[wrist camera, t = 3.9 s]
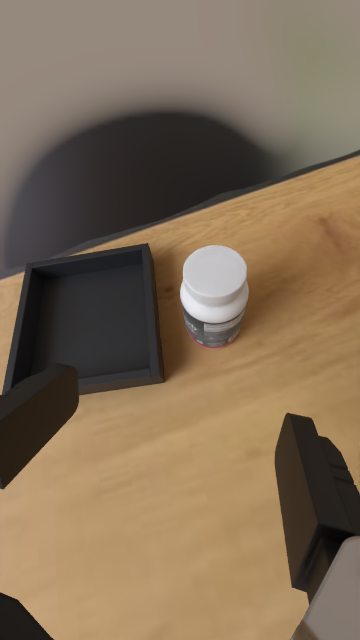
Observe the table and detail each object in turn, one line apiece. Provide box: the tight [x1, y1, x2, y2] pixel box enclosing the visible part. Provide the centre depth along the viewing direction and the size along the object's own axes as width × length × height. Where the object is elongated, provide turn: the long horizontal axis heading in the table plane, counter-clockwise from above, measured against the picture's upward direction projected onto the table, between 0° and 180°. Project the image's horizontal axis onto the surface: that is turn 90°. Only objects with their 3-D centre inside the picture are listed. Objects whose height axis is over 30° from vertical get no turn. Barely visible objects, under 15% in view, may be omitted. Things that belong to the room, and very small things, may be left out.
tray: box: [2, 243, 165, 395], centre depth 28 cm, size 15×16×3 cm
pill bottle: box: [180, 245, 249, 349], centre depth 23 cm, size 6×6×10 cm
